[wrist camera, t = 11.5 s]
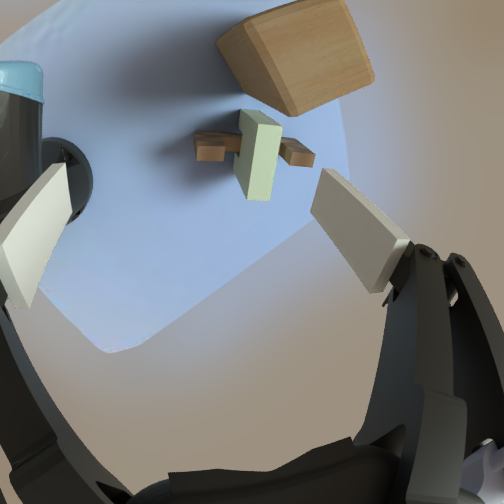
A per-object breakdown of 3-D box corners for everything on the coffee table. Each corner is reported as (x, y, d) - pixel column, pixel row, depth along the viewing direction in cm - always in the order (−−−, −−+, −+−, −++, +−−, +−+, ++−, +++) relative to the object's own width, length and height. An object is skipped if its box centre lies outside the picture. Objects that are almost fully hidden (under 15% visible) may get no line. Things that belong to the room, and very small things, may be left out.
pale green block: (251, 169, 45) (269, 200, 37) (232, 169, 44) (246, 200, 36) (260, 110, 39) (283, 126, 31) (240, 108, 39) (258, 123, 30)
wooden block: (302, 69, 36) (381, 83, 21) (244, 96, 37) (291, 123, 22) (274, 14, 30) (343, -12, 15) (212, 41, 31) (236, 21, 16)
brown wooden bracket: (194, 143, 40) (196, 160, 34) (195, 131, 39) (197, 145, 33) (293, 150, 45) (312, 167, 38) (295, 138, 43) (315, 154, 37)
